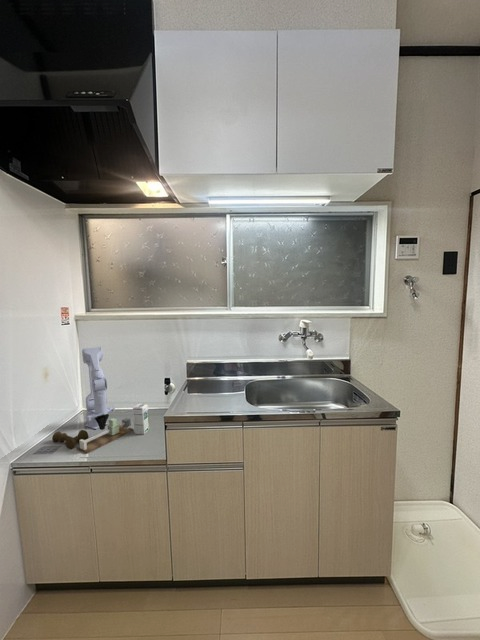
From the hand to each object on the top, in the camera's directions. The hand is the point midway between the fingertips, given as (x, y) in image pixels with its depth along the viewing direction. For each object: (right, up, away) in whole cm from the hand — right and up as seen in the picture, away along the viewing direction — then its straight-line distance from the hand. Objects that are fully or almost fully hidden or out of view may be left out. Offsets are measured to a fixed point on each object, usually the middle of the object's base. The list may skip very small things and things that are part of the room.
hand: (102, 429), depth 157 cm
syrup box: (+17, -5, +11) cm, 20 cm away
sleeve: (+3, -4, +6) cm, 8 cm away
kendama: (-15, -7, -1) cm, 16 cm away
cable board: (+1, -6, +2) cm, 7 cm away
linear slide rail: (+1, -5, +3) cm, 6 cm away
